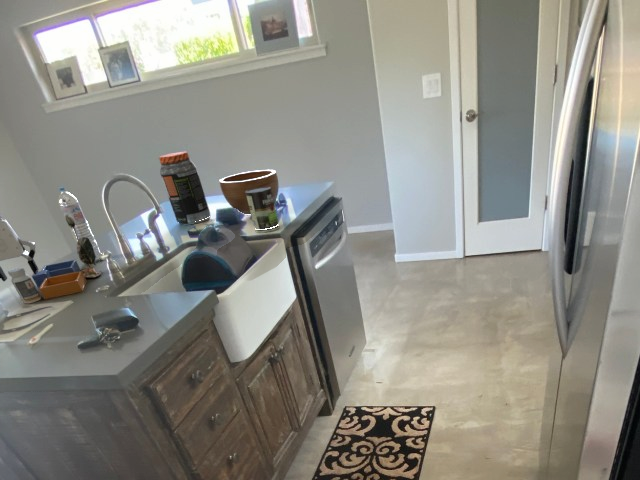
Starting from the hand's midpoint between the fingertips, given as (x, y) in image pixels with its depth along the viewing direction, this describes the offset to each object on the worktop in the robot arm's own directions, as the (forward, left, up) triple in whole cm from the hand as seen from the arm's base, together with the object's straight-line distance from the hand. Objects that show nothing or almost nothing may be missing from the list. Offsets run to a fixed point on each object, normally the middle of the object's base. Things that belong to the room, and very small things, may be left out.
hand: (21, 276), depth 167 cm
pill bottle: (0, 0, -8) cm, 8 cm away
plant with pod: (+17, +17, -8) cm, 26 cm away
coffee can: (+85, +34, -8) cm, 92 cm away
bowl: (+84, +65, -8) cm, 107 cm away
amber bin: (+10, +5, -8) cm, 13 cm away
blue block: (+2, +15, -8) cm, 17 cm away
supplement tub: (+57, +79, -8) cm, 98 cm away
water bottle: (+16, +40, -8) cm, 44 cm away
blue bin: (+6, +25, -8) cm, 27 cm away
